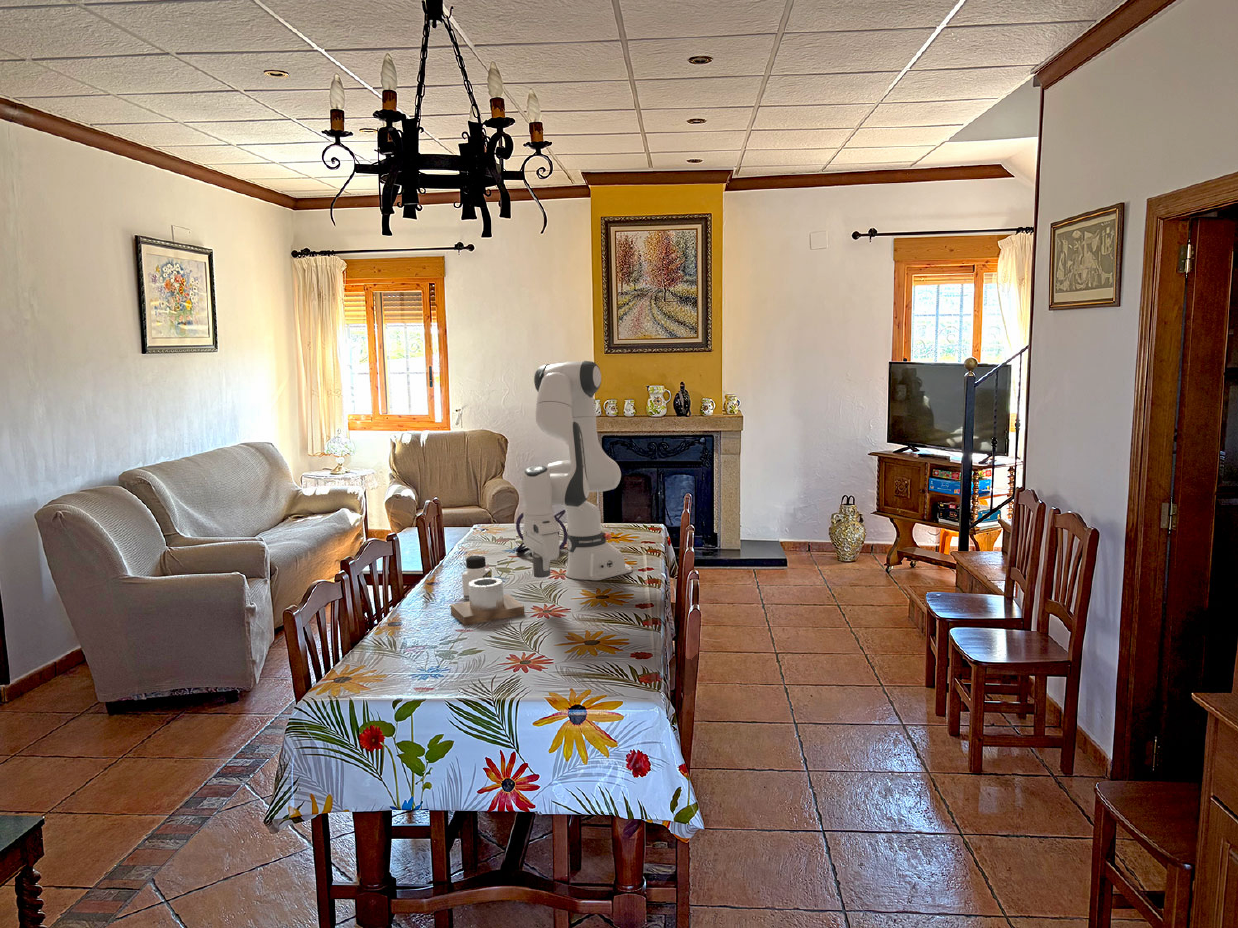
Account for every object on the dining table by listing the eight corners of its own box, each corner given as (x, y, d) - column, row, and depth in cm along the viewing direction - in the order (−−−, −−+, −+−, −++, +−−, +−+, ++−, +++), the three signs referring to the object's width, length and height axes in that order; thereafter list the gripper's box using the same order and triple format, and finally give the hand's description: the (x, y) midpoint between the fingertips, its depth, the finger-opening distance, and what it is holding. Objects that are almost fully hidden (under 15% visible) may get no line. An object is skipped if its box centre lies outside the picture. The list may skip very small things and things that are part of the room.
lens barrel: (497, 598, 266) (495, 575, 264) (507, 606, 257) (506, 583, 256) (466, 603, 261) (464, 581, 260) (476, 612, 253) (474, 588, 252)
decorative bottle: (527, 542, 346) (524, 479, 343) (578, 543, 341) (575, 480, 337) (505, 557, 325) (501, 490, 321) (559, 558, 319) (555, 490, 316)
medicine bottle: (484, 596, 277) (482, 559, 275) (463, 596, 278) (460, 559, 276) (492, 589, 284) (490, 553, 282) (471, 589, 285) (468, 553, 283)
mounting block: (508, 602, 270) (508, 594, 269) (524, 614, 257) (524, 606, 257) (451, 612, 262) (450, 604, 261) (464, 625, 249) (464, 617, 249)
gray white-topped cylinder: (546, 571, 265) (545, 552, 264) (553, 575, 261) (551, 555, 260) (531, 574, 263) (529, 554, 262) (537, 578, 259) (536, 558, 258)
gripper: (516, 516, 267) (519, 560, 269) (541, 530, 249) (544, 577, 251) (536, 513, 270) (538, 557, 272) (562, 527, 252) (564, 573, 254)
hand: (541, 567), depth 262 cm, fingers closed on gray white-topped cylinder, 5 cm apart
